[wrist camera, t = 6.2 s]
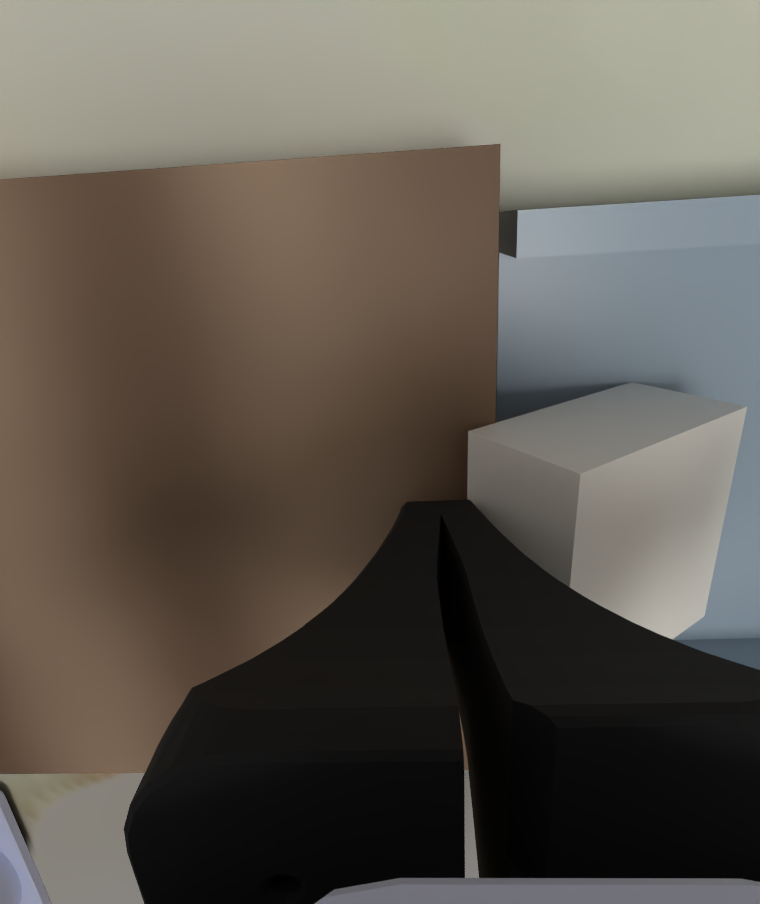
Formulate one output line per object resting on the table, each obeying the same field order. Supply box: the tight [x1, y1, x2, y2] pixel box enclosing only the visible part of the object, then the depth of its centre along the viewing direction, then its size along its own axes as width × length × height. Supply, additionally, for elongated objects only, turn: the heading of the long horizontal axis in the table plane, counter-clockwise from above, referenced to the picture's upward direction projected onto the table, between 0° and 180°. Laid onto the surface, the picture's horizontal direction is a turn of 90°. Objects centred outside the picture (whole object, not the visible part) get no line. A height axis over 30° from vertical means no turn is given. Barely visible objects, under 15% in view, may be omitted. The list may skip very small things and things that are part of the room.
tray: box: [496, 195, 760, 670], centre depth 13 cm, size 10×12×2 cm
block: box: [467, 382, 747, 639], centre depth 12 cm, size 5×5×2 cm
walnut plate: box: [0, 144, 500, 774], centre depth 14 cm, size 14×14×3 cm
